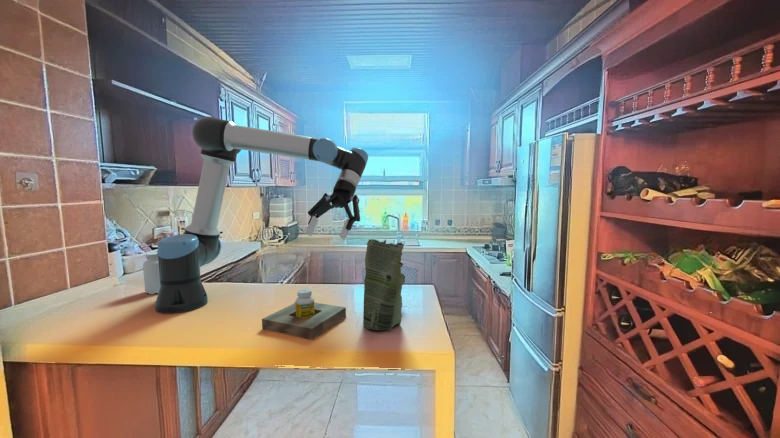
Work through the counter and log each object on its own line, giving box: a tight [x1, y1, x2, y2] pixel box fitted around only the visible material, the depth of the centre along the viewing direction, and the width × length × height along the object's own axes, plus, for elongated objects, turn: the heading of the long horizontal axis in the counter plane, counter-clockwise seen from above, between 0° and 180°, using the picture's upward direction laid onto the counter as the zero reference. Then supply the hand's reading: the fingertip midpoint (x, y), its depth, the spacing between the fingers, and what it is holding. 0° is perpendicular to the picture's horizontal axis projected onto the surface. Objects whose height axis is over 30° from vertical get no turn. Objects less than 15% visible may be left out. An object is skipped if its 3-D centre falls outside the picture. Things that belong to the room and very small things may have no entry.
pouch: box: [362, 238, 406, 332], centre depth 98 cm, size 11×12×25 cm
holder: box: [261, 302, 347, 341], centre depth 101 cm, size 17×17×3 cm
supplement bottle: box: [294, 288, 315, 319], centre depth 101 cm, size 5×5×10 cm
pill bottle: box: [142, 251, 160, 295], centre depth 132 cm, size 8×8×15 cm
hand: (324, 235), depth 115 cm, fingers open, 13 cm apart
